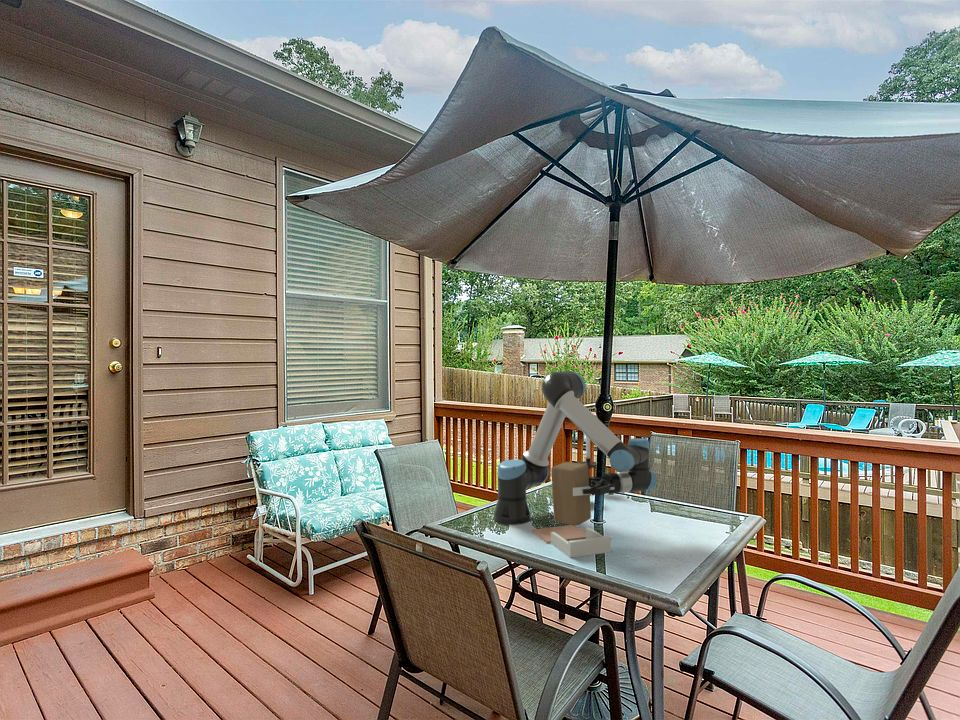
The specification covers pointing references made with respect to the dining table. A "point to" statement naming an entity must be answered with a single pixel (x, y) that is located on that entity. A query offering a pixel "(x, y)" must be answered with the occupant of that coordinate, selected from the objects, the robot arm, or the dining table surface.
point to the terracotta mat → (560, 533)
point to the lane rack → (583, 544)
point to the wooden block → (570, 493)
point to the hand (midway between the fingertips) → (564, 487)
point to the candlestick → (588, 457)
